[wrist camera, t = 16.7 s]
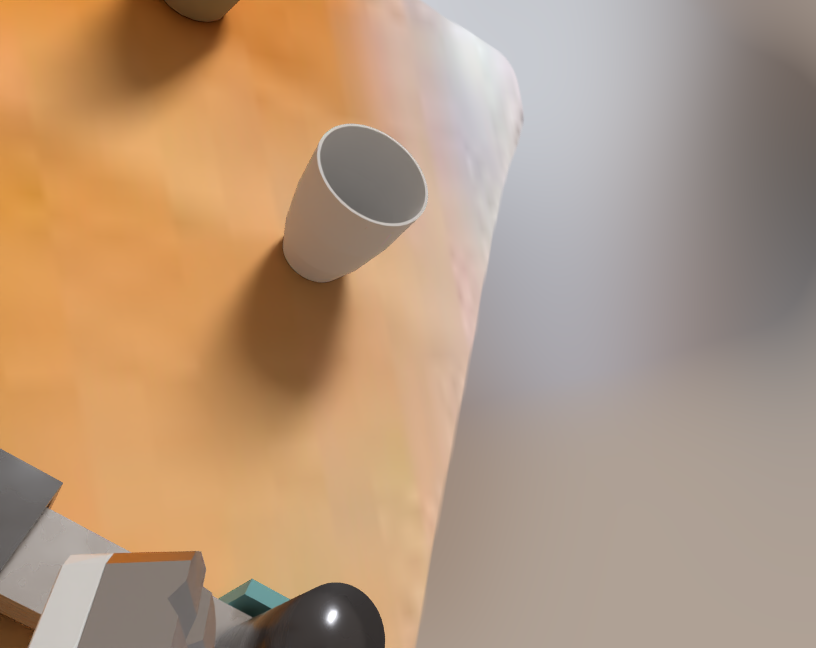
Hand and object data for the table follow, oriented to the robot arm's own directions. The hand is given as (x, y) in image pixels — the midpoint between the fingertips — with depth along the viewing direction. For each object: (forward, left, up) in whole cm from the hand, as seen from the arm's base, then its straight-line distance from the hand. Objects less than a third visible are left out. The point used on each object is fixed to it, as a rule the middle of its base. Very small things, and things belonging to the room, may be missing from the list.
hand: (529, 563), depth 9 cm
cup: (+12, +30, -35) cm, 48 cm away
